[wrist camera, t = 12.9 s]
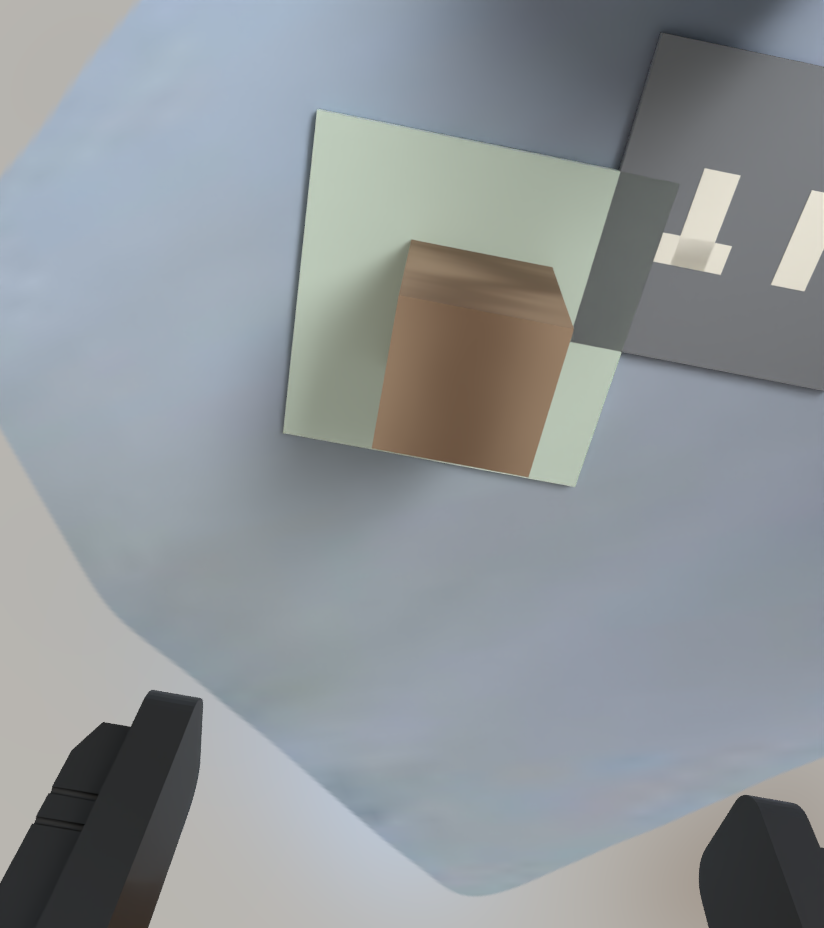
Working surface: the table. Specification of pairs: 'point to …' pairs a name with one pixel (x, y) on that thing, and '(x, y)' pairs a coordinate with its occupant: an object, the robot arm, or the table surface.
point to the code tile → (720, 217)
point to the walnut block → (472, 359)
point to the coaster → (453, 225)
